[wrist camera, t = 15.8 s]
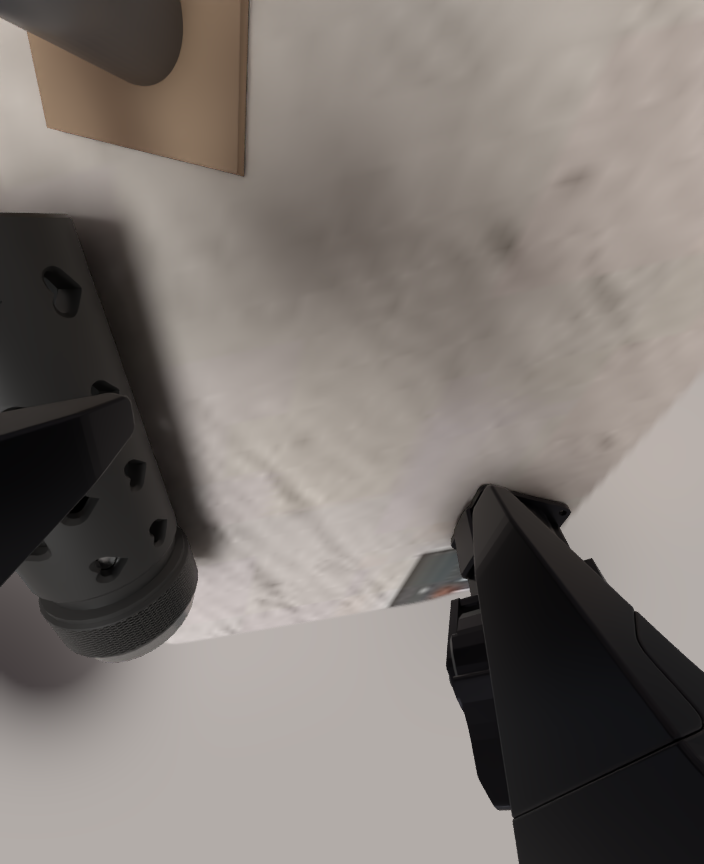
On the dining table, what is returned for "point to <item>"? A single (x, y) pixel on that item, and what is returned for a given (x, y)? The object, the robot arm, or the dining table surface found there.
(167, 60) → the plug
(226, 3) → the mat
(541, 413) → the dining table surface
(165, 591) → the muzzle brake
